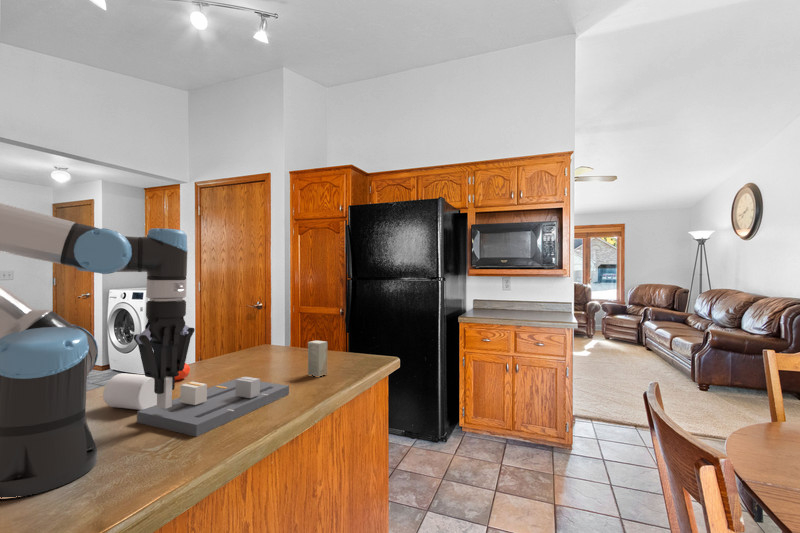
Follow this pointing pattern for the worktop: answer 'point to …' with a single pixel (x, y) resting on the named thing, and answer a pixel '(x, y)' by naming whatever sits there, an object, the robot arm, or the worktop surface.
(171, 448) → the worktop surface
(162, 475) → the worktop surface
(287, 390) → the console
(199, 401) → the fader
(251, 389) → the fader
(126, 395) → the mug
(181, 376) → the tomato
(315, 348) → the box
